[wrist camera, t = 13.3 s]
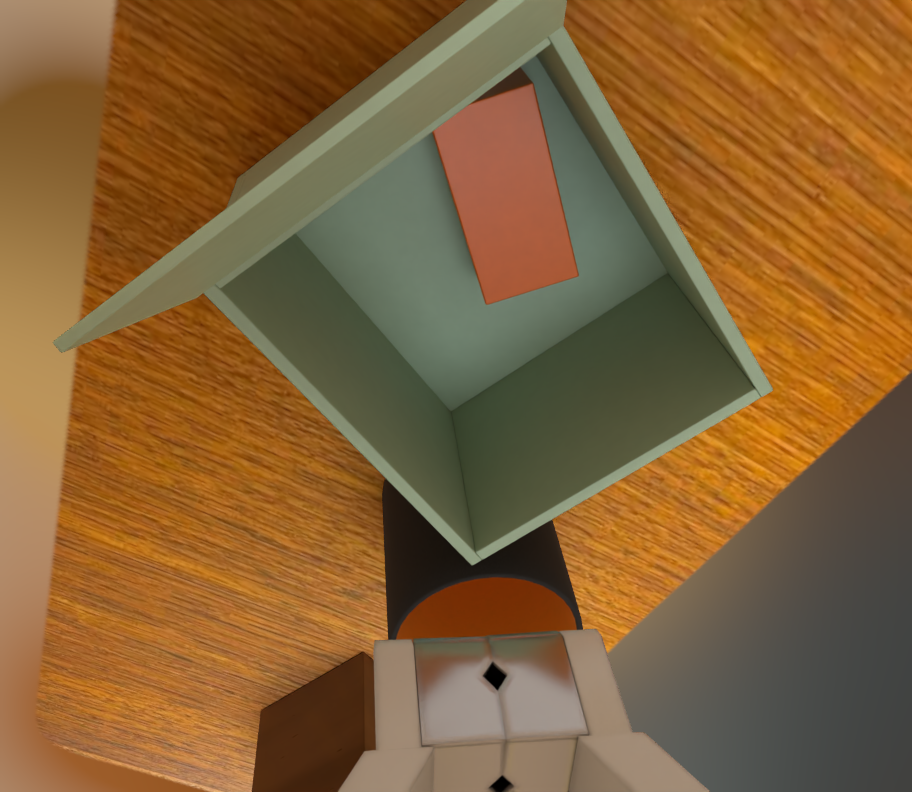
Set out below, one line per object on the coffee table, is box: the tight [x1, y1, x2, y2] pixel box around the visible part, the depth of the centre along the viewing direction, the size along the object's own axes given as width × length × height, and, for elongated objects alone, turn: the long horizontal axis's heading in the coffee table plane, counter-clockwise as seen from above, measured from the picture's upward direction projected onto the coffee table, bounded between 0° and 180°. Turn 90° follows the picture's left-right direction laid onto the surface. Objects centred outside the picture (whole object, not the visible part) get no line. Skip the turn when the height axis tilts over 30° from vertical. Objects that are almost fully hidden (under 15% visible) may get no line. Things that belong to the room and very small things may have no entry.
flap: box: [53, 0, 567, 353], centre depth 20 cm, size 7×13×1 cm
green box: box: [204, 0, 773, 565], centre depth 32 cm, size 15×13×10 cm
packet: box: [432, 67, 579, 305], centre depth 34 cm, size 8×4×3 cm, turn 17°
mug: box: [382, 479, 583, 641], centre depth 41 cm, size 8×12×10 cm
